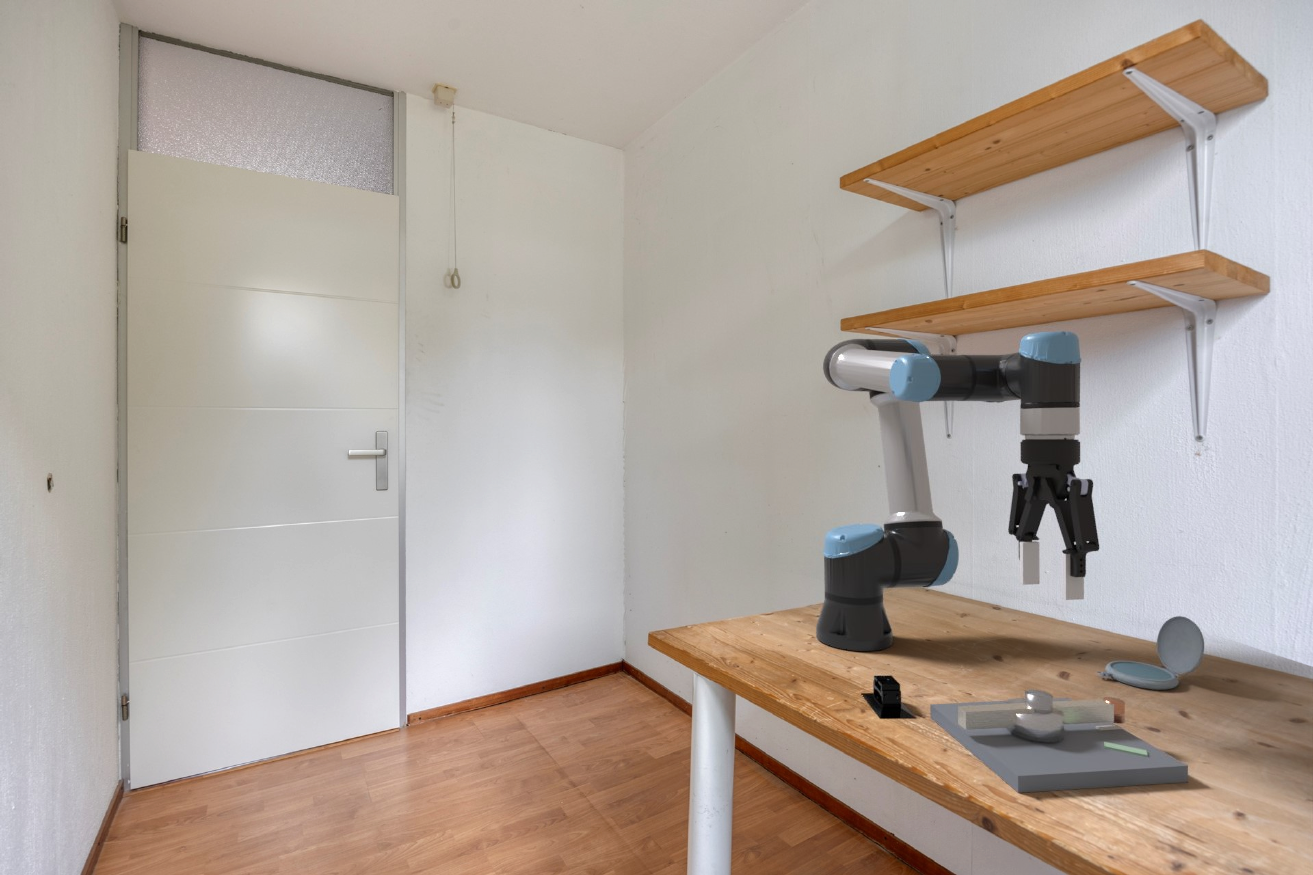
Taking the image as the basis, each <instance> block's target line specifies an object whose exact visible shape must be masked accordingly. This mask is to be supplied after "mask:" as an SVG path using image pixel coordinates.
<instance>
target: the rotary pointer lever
mask: <svg viewBox="0 0 1313 875" xmlns="http://www.w3.org/2000/svg"><path fill="white" fill-rule="evenodd" d="M1024 692H1025V693H1024V694H1025V695H1024V698H1023V697H1022V698H1021V697H1020V698H1019V697H1018V698H1017V697H1015V698H1009V699H1007V700H1004V701H1005V702H1004V704H992V705H972V706H958V724H959V725H960V726H962V727H963V728H964V729H965V730H974V729H993V728H1006V729H1007V730H1009V731H1010V732H1011V733H1013V734H1015V735H1017V736H1020V737H1023V738H1026V739H1029V740H1034V741H1040V742H1057V741H1060V740H1062V739H1063V738H1064V725H1068V724H1086V723H1105V722H1111V723H1113V724H1125V722H1126V715H1125V714H1126V705H1125V704H1126V702H1125V701H1124V700H1123V699H1120V698H1116V697H1112V696H1105V697H1103V698H1095V699H1094V698H1093V699H1077V700H1075V699H1074V700H1072V699H1071V700H1072V701H1053V694H1051V693H1050V692H1047V691H1045V690H1040V689H1034V688H1033V689H1026V690H1025V691H1024Z"/></svg>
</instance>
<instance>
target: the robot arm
mask: <svg viewBox="0 0 1313 875" xmlns="http://www.w3.org/2000/svg"><path fill="white" fill-rule="evenodd" d="M824 356H825V357H824V359H823V364H822V370H823V374H824V376H825V378H826V380H827V382H828V383H830V384H831V385H832V386H834V387H835V388H837V389H840V390H843V391H849V392H867V393H869V394H868V395H869V402H870V403H871V404H872V405H873V406H875V407H876V408H877V409H878V410H877V411H878V420H879V426H880V427H879V428H880V429H879V430H880V437H881V447H882V455H883V463H884V474H885V484H886V491H887V500H888V508H889V510H888V511H889V516H888V518H887V519H886V520H885V521H884V522H883V527H882V526H881V525H878V524H873V523H862V524H860V523H857V524H847V525H843V526H837V527H834V528H832V529H831V530H829V531H827V533H826V534H825V537H824V545H823V546H824V547H823V552H822V553H823V559H824V560H823V563H824V565H823V566H824V569H823V570H824V571H823V572H824V576H823V577H824V581H823V582H824V601H823V604H822V608H821V610H820V613H819V616H818V619H817V623H816V626H815V632H816V633H815V634H816V635H815V637H816V639H817V640H818V641H819V642H821V643H823V644H825V645H827V646H829V645H830V647H832V648H835V649H837V648H838V649H840V650H841V649H842V650H846V649H847V650H848V651H855V652H857V651H858V652H871V651H872V652H873V651H881V650H884V649H887V648H889V647H891V646H892V645H893V641H894V640H893V634H894V633H893V630H892V625H891V623H890V620H889V617H888V615H887V612H886V608H885V604H884V589H896V588H897V589H899V588H927V589H928V588H930V587H937V586H938V587H939V586H943V585H946V584H948V583H949V582H951V580H952V579H953V577H954V575H955V574H956V572H957V568H958V566H959V565H958V564H959V558H960V557H959V554H960V553H959V552H960V550H959V545H958V542H957V539H955V535H954V534H953V533H952V531H949V530H947V529H945V528H943V525H944V524H943V519H941V518H940V517H939V516H937V515H936V514H935V513H934V509H933V502H932V493H931V486H930V478H929V477H930V476H929V472H928V471H929V470H928V461H927V455H926V447H925V446H926V445H925V439H924V430H923V422H922V415H921V414H922V413H921V405H920V403H923V402H952V401H953V402H984V403H1004V402H1008V401H1017V400H1018V401H1019V400H1020V405H1019V406H1020V409H1019V412H1020V413H1019V414H1020V415H1019V417H1020V418H1019V434H1020V435H1021V436H1024V439H1022V440H1021V441H1020V443H1019V444H1020V462H1021V463H1022V464H1024V465H1027V468H1026V471H1025V473H1013V474H1012V477H1011V478H1012V486H1013V489H1012V496H1011V504H1010V514H1009V521H1008V530H1007V532H1008V534H1009V535H1011V536H1015V538H1016V540H1017V541H1018V560H1019V584H1020V585H1023V586H1026V585H1040V583H1041V582H1040V580H1041V579H1040V577H1041V576H1040V542H1039V540H1040V538H1039V536H1037V534H1038V531H1039V528H1040V525H1041V522H1042V518H1043V517H1044V516H1043V515H1044V513H1045V510H1046V507H1047V505H1048V506H1049V507H1050V508H1052V509H1053V511H1054V514H1055V518H1056V521H1057V524H1058V528H1059V530H1060V532H1061V533H1060V534H1061V536H1062V539H1063V543H1064V545H1065V546H1064V547H1065V549H1062V550H1061V598H1062V599H1063V600H1065V601H1070V600H1071V601H1072V600H1073V601H1075V600H1076V601H1077V600H1079V601H1080V600H1085V578H1086V575H1087V554H1088V553H1091V552H1099V550H1100V542H1099V535H1098V529H1097V523H1096V522H1097V521H1096V516H1095V509H1094V503H1093V489H1094V481H1093V479H1091V478H1079V477H1077V476H1076V472H1075V470H1074V469H1075V468H1074V467H1075V465H1076V466H1077V465H1079V464H1080V463H1081V441H1080V440H1079V439H1076V438H1075V436H1079V435H1080V434H1081V427H1080V426H1081V422H1080V421H1081V414H1080V413H1081V412H1080V411H1081V410H1080V409H1081V408H1080V407H1081V363H1082V358H1081V352H1080V340H1079V336H1078V335H1077V334H1076V333H1074V332H1071V331H1065V330H1064V331H1063V330H1062V331H1060V330H1057V331H1044V332H1043V331H1042V332H1035V333H1030V334H1026V335H1024V336H1023V337H1021V340H1020V345H1019V348H1018V352H1013V353H1007V354H1005V353H1004V354H933V353H931V351H930V350H929V348H928V347H927V345H926V344H924V343H923V342H921V341H919V340H917V339H907V338H896V339H895V338H892V339H891V338H885V339H884V338H853V339H848V340H843V341H841V342H839V343H837V344H835V345H833V346H832V347H831V348H830V349H829V350H828V351H827V353H826V354H825V355H824Z"/></svg>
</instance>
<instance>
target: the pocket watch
mask: <svg viewBox="0 0 1313 875" xmlns="http://www.w3.org/2000/svg"><path fill="white" fill-rule="evenodd" d="M1156 639H1157V640H1156V650H1157V655H1158V657H1159V659H1160V662H1161V664H1162V665H1163V666H1164V667H1161V666H1158V665H1154V664H1152V663H1146V662H1141V661H1134V660H1114V661H1111V662H1108V663H1107V665H1106V666H1105V671H1095V673H1096V675H1097V676H1099V677H1102V678H1112V679H1114V680H1115V681H1118V682H1120V683H1123V684H1125V685H1128V686H1131V687H1136V688H1141V689H1145V690H1153V691H1154V690H1155V691H1159V690H1161V691H1164V690H1171V689H1174V688H1176V687H1177V686H1178V684H1179V677H1180V675H1179V674H1181V675H1183V674H1188V673H1191V672H1193V671H1194V670H1195V669H1196V668H1198V666H1199V665H1200V664H1201V661H1202V660H1203V657H1204V655H1205V654H1204V653H1205V640H1204V639H1205V638H1204V636H1203V632H1202V631H1201V628H1200V627H1199V626H1198V625H1197V623H1195V622H1194V621H1193V620H1191V619H1190V618H1188V617H1186V616H1181V615H1177V616H1173V617H1170V618H1168V619H1167V620H1166V621H1165V622H1164V623H1163V625H1162V626H1161V627H1160V629H1159V631H1158V635H1157V638H1156Z"/></svg>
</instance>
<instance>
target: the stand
mask: <svg viewBox="0 0 1313 875" xmlns="http://www.w3.org/2000/svg"><path fill="white" fill-rule="evenodd" d="M1005 701H1006V700H994V701H992V700H991V701H976V702H975V701H973V702H971V701H970V702H954V703H935V704H934V703H933V704H932V703H931V704H930V707H929V708H930V712H929V713H930V719H931V720H933V721H934V722H935V723H936V724H937V725H939V727H941V729H943V730H945V732H947V733H948V734H949V735H950V736H951V737H952V738H954V739H955V740H956V741H957V742H958V743H960V745H962V747H964V748H965V749H966V750H967V751H969V752H970V753H971V754H972V755H973V756H975V757H976V759H978V760H979V761H981V762H982V763H983V765H985V766H986V767H988V768H989V769H990V771H992V772H993V773H994V774H996V776H998V777H999V778H1000V779H1001V780H1003V781H1004V782H1005V783H1006V784H1007V785H1009V786H1010V787H1011V788H1012V789H1013V790H1014V791H1015V792H1017V794H1020V793H1021V794H1022V793H1035V792H1048V791H1049V792H1051V791H1067V790H1068V791H1069V790H1082V789H1083V790H1084V789H1098V788H1099V789H1100V788H1115V787H1130V786H1144V785H1145V786H1147V785H1163V784H1178V783H1179V784H1180V783H1189V766H1188V764H1186V763H1184V762H1182V761H1180V760H1178V759H1176V758H1175V757H1173V756H1172V755H1169V754H1168V753H1166V752H1165V751H1163V750H1161V749H1159V748H1158V747H1155V746H1154V745H1152V744H1150V743H1148V742H1147V741H1145V740H1143V739H1142V738H1140V737H1137V736H1136V735H1134V734H1132V733H1131V732H1129V731H1127V730H1126V729H1124V728H1123V727H1122V726H1120V725H1119V724H1116V723H1113V722H1105V723H1086V724H1068V725H1064V738H1063V739H1062V740H1060V741H1057V742H1040V741H1034V740H1029V739H1026V738H1023V737H1020V736H1017V735H1015V734H1013V733H1011V732H1010V731H1009V730H1007V729H1006V728H993V729H974V730H965V729H964V728H963V727H962V726H960V725H959V724H958V706H972V705H992V704H1004V702H1005ZM1053 701H1072V699H1070V698H1068V697H1056V698H1055V697H1054V698H1053Z"/></svg>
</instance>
